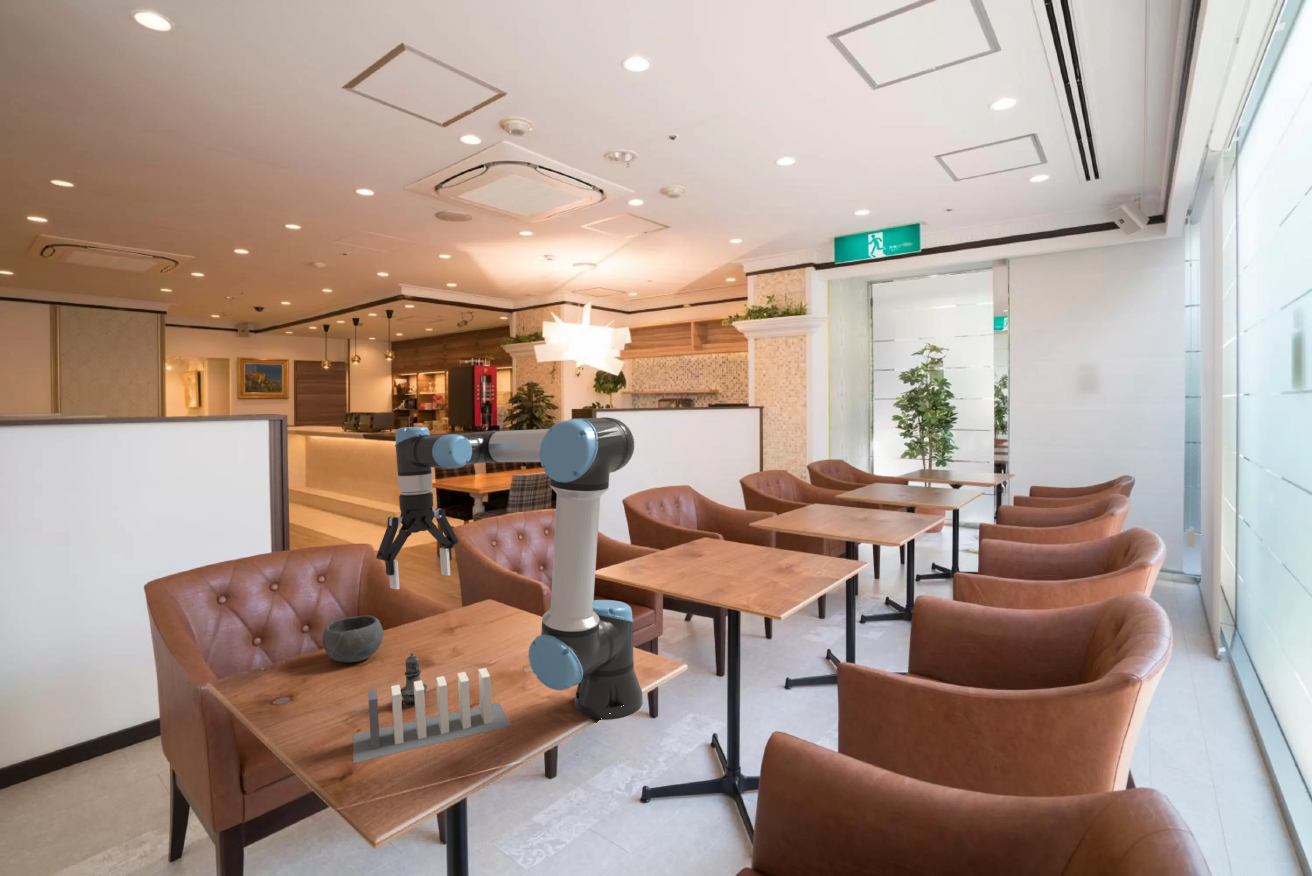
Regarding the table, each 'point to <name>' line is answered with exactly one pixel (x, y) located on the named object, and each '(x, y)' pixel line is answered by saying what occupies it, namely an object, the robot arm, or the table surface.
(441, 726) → the tile
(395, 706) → the tile
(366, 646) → the bowl
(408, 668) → the grey chess piece
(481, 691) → the tile
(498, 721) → the mat
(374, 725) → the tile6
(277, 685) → the table surface
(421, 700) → the tile
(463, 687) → the tile
